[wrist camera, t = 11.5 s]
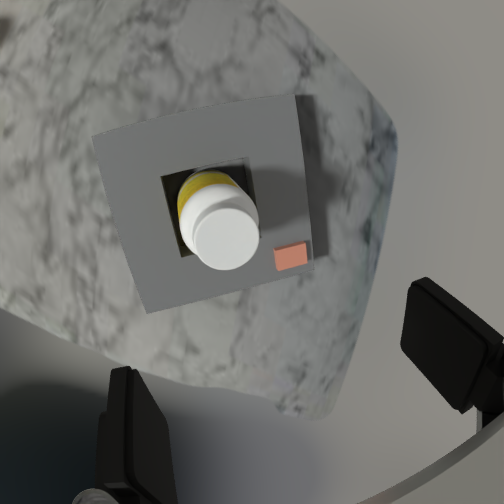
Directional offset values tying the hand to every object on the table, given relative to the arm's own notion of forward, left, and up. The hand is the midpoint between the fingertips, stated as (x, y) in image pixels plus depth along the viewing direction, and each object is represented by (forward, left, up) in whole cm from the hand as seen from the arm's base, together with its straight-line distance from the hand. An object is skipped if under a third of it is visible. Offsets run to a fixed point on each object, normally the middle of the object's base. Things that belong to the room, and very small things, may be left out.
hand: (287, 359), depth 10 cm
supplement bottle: (0, 0, -20) cm, 20 cm away
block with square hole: (0, 0, -20) cm, 20 cm away
